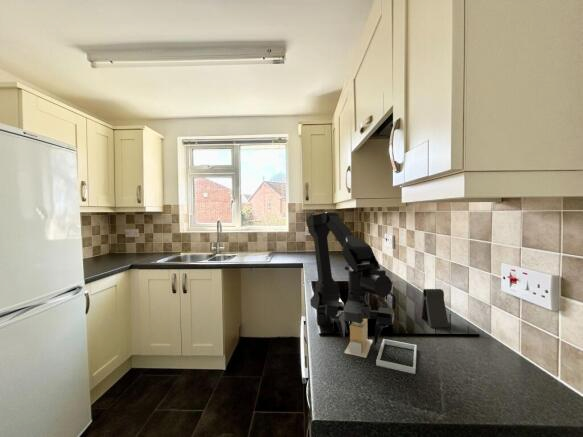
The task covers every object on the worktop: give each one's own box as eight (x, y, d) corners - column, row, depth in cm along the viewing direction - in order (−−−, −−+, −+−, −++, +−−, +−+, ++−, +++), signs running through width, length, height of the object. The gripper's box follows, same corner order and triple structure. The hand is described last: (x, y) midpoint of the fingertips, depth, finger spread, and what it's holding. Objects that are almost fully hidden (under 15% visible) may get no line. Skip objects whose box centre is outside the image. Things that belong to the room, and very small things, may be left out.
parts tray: (383, 345, 80) (383, 338, 80) (416, 352, 76) (416, 345, 76) (376, 368, 69) (376, 360, 69) (415, 377, 65) (415, 368, 65)
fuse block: (353, 338, 85) (353, 326, 85) (372, 342, 82) (372, 330, 82) (343, 355, 75) (343, 341, 75) (366, 360, 72) (366, 346, 72)
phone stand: (419, 318, 101) (419, 286, 101) (435, 318, 101) (435, 286, 101) (431, 328, 92) (431, 293, 92) (448, 328, 92) (448, 293, 92)
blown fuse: (355, 339, 82) (355, 314, 82) (367, 342, 81) (367, 316, 81) (350, 350, 76) (350, 322, 76) (362, 353, 75) (362, 324, 74)
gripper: (318, 291, 75) (319, 347, 75) (389, 300, 67) (390, 362, 67) (330, 282, 85) (331, 331, 85) (394, 288, 77) (394, 343, 77)
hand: (359, 341), depth 78 cm, fingers open, 9 cm apart
